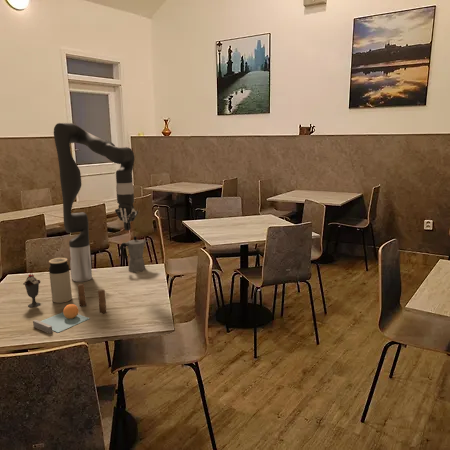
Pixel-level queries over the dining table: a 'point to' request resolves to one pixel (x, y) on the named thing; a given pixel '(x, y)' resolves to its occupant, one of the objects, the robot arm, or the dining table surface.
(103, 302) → the post outer
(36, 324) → the wall
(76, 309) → the ball
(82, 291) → the post inner
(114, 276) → the dining table surface
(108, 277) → the dining table surface
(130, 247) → the coffeepot
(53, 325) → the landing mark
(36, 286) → the sundae
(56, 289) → the travel mug
